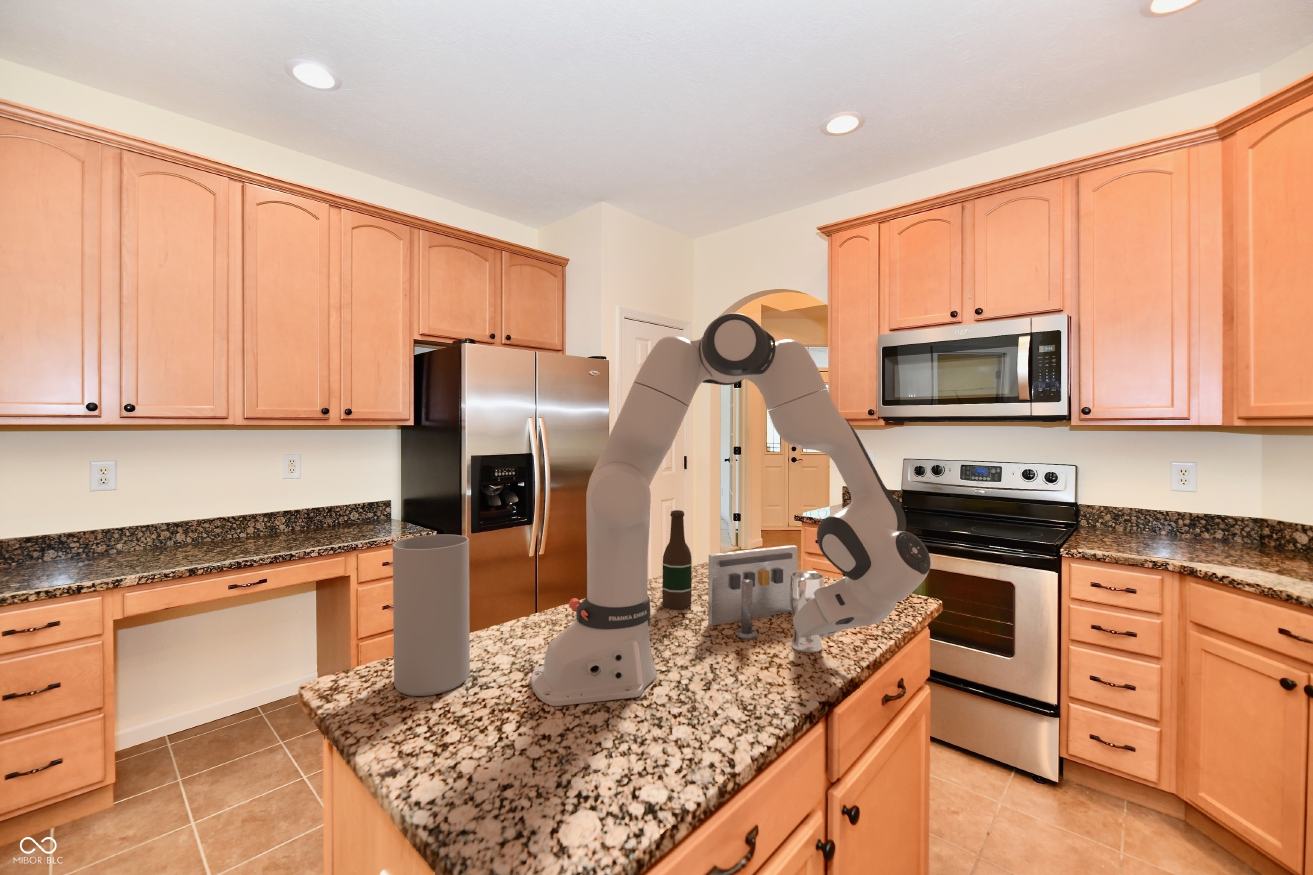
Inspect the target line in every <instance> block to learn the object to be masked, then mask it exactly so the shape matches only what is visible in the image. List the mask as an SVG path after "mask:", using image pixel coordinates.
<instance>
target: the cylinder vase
mask: <svg viewBox="0 0 1313 875" xmlns="http://www.w3.org/2000/svg"><path fill="white" fill-rule="evenodd" d="M392 591H393V592H392V596H393V597H392V598H393V599H392V603H393V604H392V606H393V608H392V609H393V610H392V611H393V618H392V619H393V625H392V626H393V685H394V687H395V689H396V690H397V691H398V692H400V693H401V694H403V695H407V696H413V697H427V696H434V695H438V694H443V693H446V692H448V691H452V690H453V689H455V688H457V687H459V686H461V685H462V684H463V683H464V682H465V681H466V680H467V679H468V677H469V676H470V673H471V671H470V670H471V669H470V668H471V667H470V666H471V664H470V663H471V661H470V659H471V657H470V656H471V654H470V650H471V649H470V647H471V645H470V642H471V641H470V639H471V638H470V637H471V636H470V633H471V632H470V630H471V629H470V627H471V626H470V539H469V537H467V536H465V535H459V534H427V535H426V534H425V535H419V536H418V535H417V536H412V537H407V538H403V539H400V540H397V541H394V542H393V543H392Z"/></svg>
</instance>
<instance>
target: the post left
mask: <svg viewBox="0 0 1313 875" xmlns="http://www.w3.org/2000/svg"><path fill="white" fill-rule="evenodd" d="M752 611H753V581H752V580H748V579H744V580H742V583H741V621H740V628H739V629H737V630H736V637H737V638H739V639H741V640H744V639H747V641H748V640H749V639H750V640H751V639H752V640H755V639H757V638H758V632H757V630H755V629H753V619H752ZM750 640H749V641H750Z"/></svg>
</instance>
